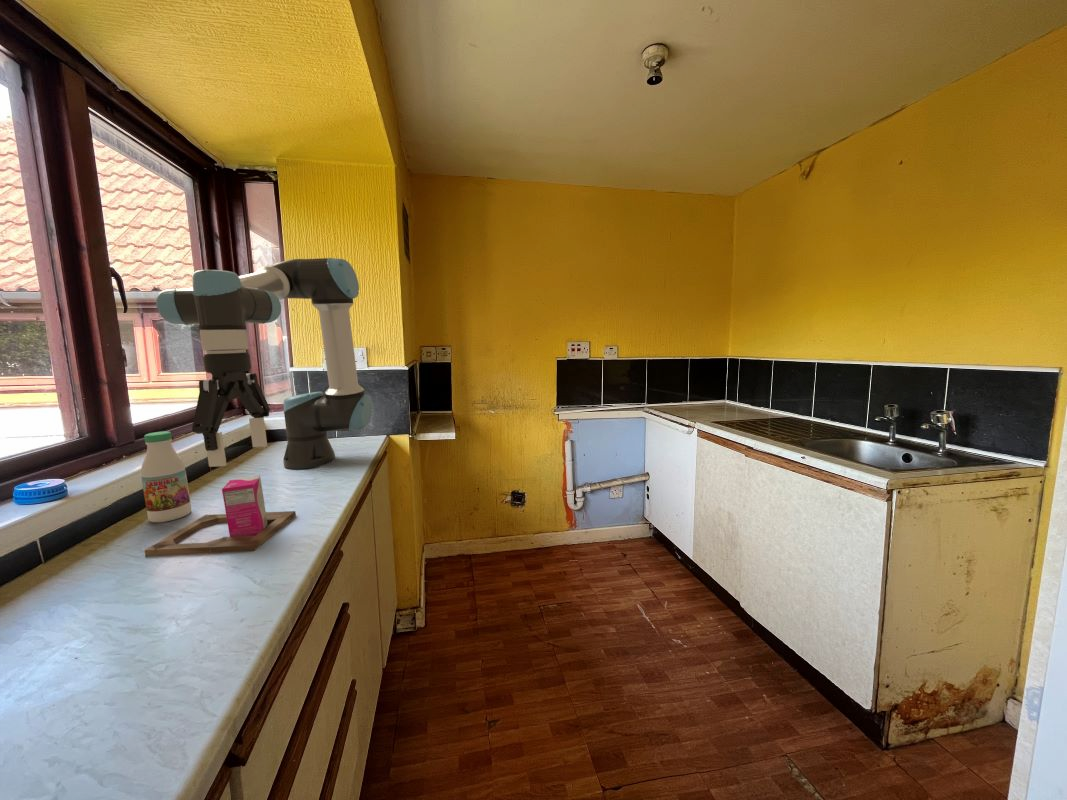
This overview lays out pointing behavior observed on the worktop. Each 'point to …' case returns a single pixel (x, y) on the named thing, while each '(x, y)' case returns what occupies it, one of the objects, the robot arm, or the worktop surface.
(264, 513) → the supplement box
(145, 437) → the milk bottle
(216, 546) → the keyhole plate
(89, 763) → the worktop surface
